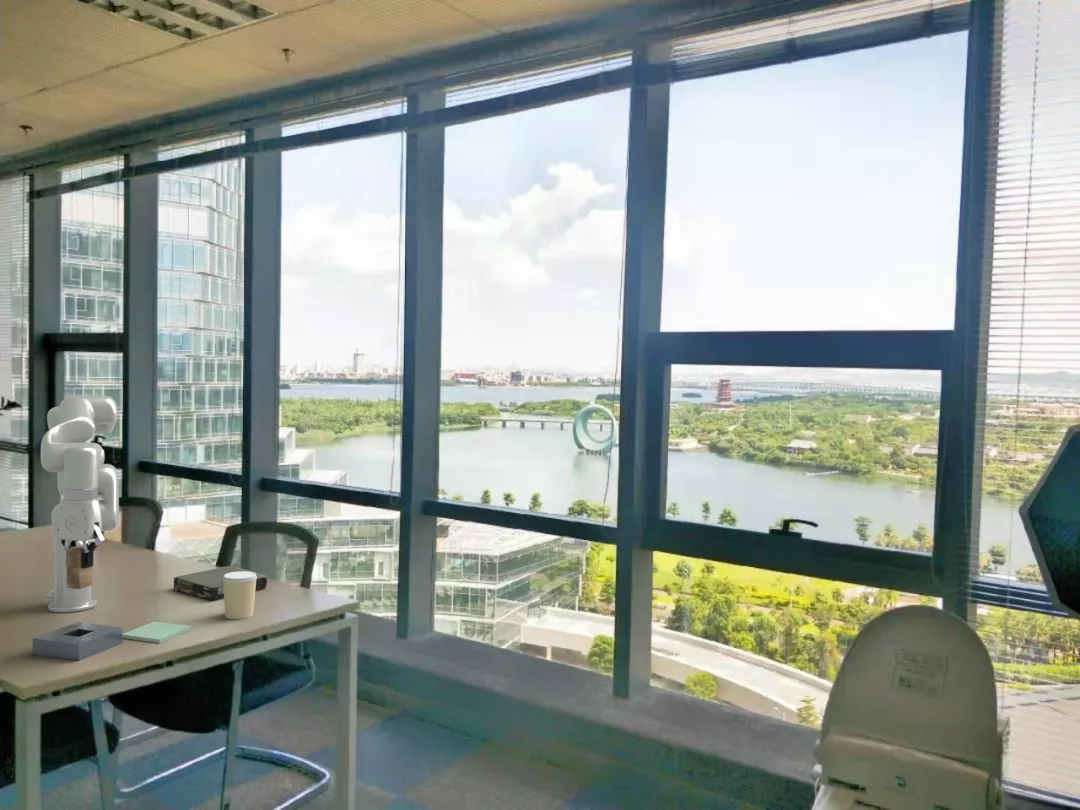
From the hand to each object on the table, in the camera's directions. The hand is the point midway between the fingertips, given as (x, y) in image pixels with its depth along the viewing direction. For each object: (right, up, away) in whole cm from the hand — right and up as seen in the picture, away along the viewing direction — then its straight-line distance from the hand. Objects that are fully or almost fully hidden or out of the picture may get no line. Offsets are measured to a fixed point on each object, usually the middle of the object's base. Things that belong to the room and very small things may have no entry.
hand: (79, 565), depth 203 cm
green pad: (+13, -21, +14) cm, 28 cm away
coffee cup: (+28, -21, +32) cm, 48 cm away
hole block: (-1, -21, +1) cm, 21 cm away
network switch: (+12, -20, +59) cm, 64 cm away
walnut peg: (0, -5, 0) cm, 5 cm away
